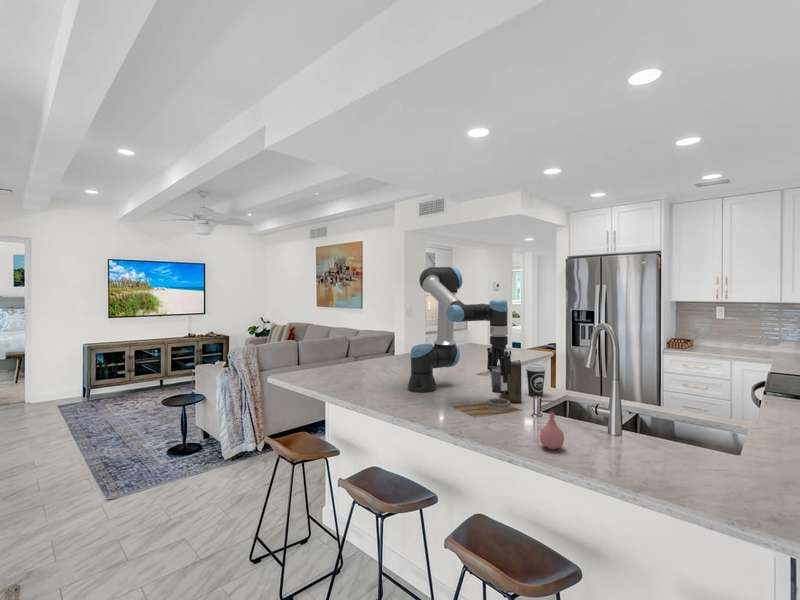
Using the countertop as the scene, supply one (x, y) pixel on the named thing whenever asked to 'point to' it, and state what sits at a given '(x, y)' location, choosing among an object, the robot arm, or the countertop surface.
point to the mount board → (487, 408)
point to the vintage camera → (514, 384)
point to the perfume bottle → (552, 434)
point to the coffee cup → (535, 379)
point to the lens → (496, 379)
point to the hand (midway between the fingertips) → (499, 388)
